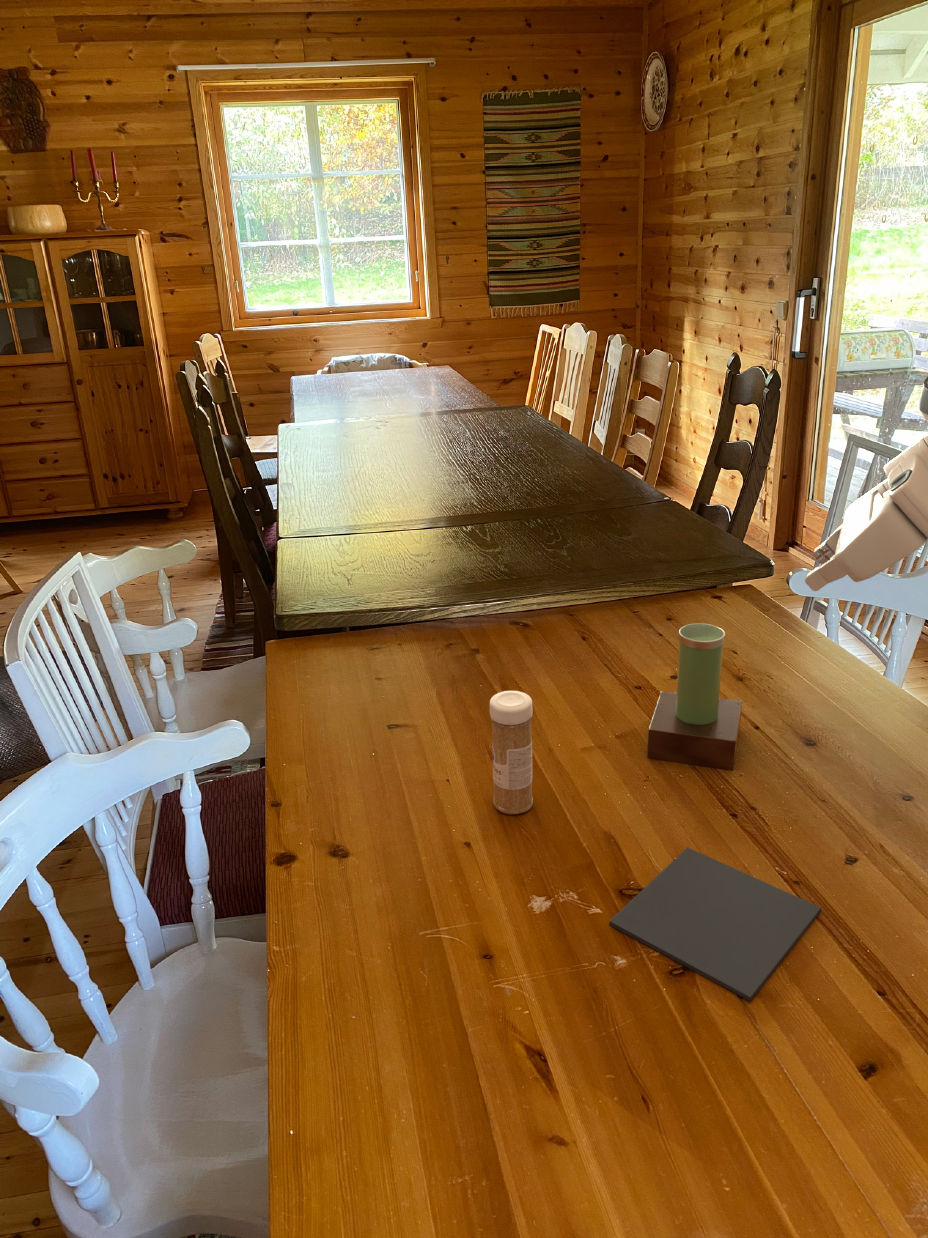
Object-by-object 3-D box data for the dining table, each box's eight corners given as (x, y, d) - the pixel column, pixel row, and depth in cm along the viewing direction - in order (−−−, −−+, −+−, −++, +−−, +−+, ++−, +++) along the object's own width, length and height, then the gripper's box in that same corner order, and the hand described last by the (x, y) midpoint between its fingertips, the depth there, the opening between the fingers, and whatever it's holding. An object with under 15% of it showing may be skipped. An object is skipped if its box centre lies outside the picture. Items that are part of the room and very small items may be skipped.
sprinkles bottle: (488, 797, 104) (484, 692, 99) (526, 789, 105) (524, 686, 100) (499, 820, 100) (496, 712, 95) (539, 812, 101) (538, 705, 96)
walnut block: (739, 728, 115) (742, 700, 114) (733, 770, 107) (735, 741, 105) (659, 718, 119) (661, 690, 117) (647, 758, 110) (648, 729, 108)
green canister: (726, 712, 111) (733, 630, 107) (705, 730, 108) (710, 645, 103) (688, 700, 115) (693, 619, 110) (666, 716, 111) (670, 634, 107)
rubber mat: (821, 911, 85) (821, 907, 85) (750, 1002, 76) (750, 997, 75) (687, 851, 94) (687, 847, 94) (609, 925, 85) (609, 921, 84)
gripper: (906, 446, 101) (803, 524, 109) (904, 488, 84) (783, 577, 91) (944, 488, 101) (839, 563, 109) (951, 539, 84) (825, 624, 91)
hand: (813, 570), depth 100 cm, fingers open, 8 cm apart
